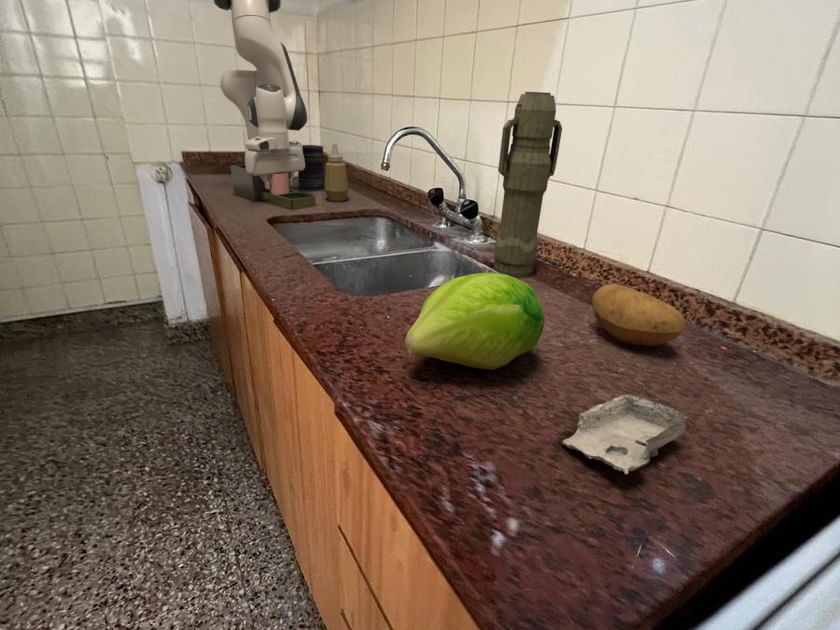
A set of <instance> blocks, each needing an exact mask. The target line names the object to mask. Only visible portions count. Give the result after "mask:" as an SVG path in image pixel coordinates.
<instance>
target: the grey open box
mask: <svg viewBox="0 0 840 630" xmlns="http://www.w3.org/2000/svg"><path fill="white" fill-rule="evenodd" d="M229 167H230V175H231V180H232V187H233V194H234V196H239V197H242V198H245V199H248V200H251V201H260V200H261V199H260V191H263V190H269V189H266V188H265V183H264V182H263V180H262V179H261V177H260V175H258V176H253V175H249V174H248V173H247V171H246V166H245V164H235V165H230V166H229ZM267 180H268V178H267ZM261 201H262V200H261Z"/></svg>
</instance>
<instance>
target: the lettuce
mask: <svg viewBox="0 0 840 630" xmlns="http://www.w3.org/2000/svg"><path fill="white" fill-rule="evenodd" d="M544 327H545V313H544V308H543V307H542V304H541V301H540V300H539V298H538V295H537V293H536V291H535V289H533V287H531V286H530V285H529V284H528V283H527V282H525V281H522V280H520V279H518V278H515V277H514V276H509V275H506V274H504V273H498V272H493V271H492V272H477V273H472V274H466V275H462V276H459V277H455V278H452V279H450V280H448V281H447V282H445V283H443V284H441V285H440V286H438V287H437V288H436V289H435V290H433V291H432V293H430V295H429V296H428V297H427V298H426V299H425V300H424V302H423V304H422V306H421V310H420V312H419V314H418V318H417V319H416V320H415V322H414V323H413V324H412V326H411V327H410V328H409V330H408V331H407V335H406V336H405V340H404V346H405V348H406V350H407V352H408V354H409V355H410V356H412V357H418V356H419V357H420V356H423V357H429V358H434V359H438V360H440V361H443V362H448V363H453V364H457V365H462V366H464V367H465V366H466V367H470V368H476V369H481V370H491V371H495V370H497V369H499V368H502V367H504V366H507V365H508V364H509V363H510V362H512V361H513V360H514V359H515V358H516V357H518V356H521V355H522V354H526V353H527V352H529V351H530V350H532V349H533V348H534V347H536V346H537V345H538V343H539V340H540V338H541V336H542V334H543V330H544Z"/></svg>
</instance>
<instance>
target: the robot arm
mask: <svg viewBox="0 0 840 630" xmlns="http://www.w3.org/2000/svg"><path fill="white" fill-rule="evenodd" d="M212 1H213V3H214V5H215V6H216V7H217V8H218V9H220V10H224V11H227V12H228V11H231V12H230V13H231V23H232V24H231V25H232V30H233V38H234V43H235V44H234V45H235V51H236V52H237V54H238V56H239V57H241V58H242V59H243V60H245V62H247V63H249V64H251V65H253V66H254V67H255V69H256V70H246V69H233V70H227V71H224V72H222V74H221V77H220V80H219V81H220V82H219V85H220V90H221V92H222V94H223V95H224V97H225V98H226V99H228V100H229V101H230V102H231V103H233V105H235V107H236V108H237V109H238V110H239V112H240V113H241V115H242V118H243V120H244V121H243V122H244V124H245V128H246V129H245V130H246V135H247V140H246V141H245V142H244V147H245V149H246V151H245V154H244V165H245V166H246V171H247V173H248V174H249V175H253V176H258V175H260V177H261V179H262V180H263V182H264V183H265V188H266V189H271V188H272V183H269V182H268V180H267V178H268V174H276V173H285V172H288V179H289V187H291V186H293V179H294V178H299V177H298V173H299V171H303V170H304V169H305V160H304V155H303V148H302V145H303V144H302V143H301V142H299V141H297V140H294V141H290V138H289V131H298V132H300V130H301V129H303V128H304V127H305V125H306V124H307V123H308V111H307V108H306V104H305V102H304V100H303V97H302V95H301V92H300V88H299V85H298V81H297V79H296V74H295V71H294V67H293V65H292V61H291V59H290V58H291V57H290V56H289V53H288V50H287V48H286V46H285V44H284V43H282V42H280V41H279V39H278V38H277V36H276V34H275V32H274V29H273V26H272V21H271V15H270V14H271V13H275V12H278V10H280V8H281V7H282V6H281V5H282V1H283V0H212Z"/></svg>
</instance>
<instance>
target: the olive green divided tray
mask: <svg viewBox="0 0 840 630" xmlns="http://www.w3.org/2000/svg"><path fill="white" fill-rule="evenodd" d="M289 190H290V193H285V194H278V195H275V194H271V193H269V190H263V191H260V199H261V201H263V202H266V203H270V204H273V205H277V206H280V207H282V208H286V209H290V210H297V209H303V208H308V207H313V206H316V204H317V203H316V195H313V194H310V193H306V192H301V191H297V190H293V189H290V188H289Z"/></svg>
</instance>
